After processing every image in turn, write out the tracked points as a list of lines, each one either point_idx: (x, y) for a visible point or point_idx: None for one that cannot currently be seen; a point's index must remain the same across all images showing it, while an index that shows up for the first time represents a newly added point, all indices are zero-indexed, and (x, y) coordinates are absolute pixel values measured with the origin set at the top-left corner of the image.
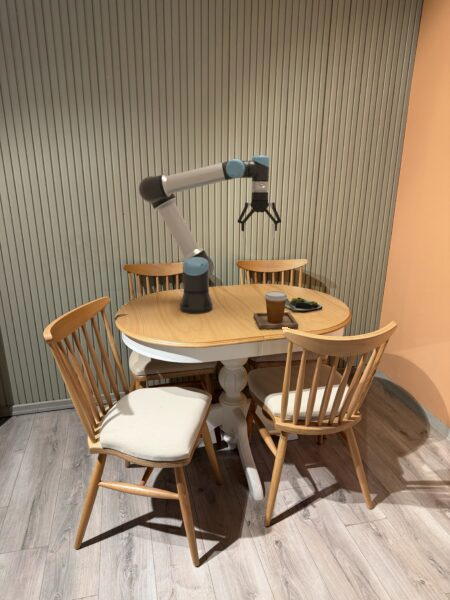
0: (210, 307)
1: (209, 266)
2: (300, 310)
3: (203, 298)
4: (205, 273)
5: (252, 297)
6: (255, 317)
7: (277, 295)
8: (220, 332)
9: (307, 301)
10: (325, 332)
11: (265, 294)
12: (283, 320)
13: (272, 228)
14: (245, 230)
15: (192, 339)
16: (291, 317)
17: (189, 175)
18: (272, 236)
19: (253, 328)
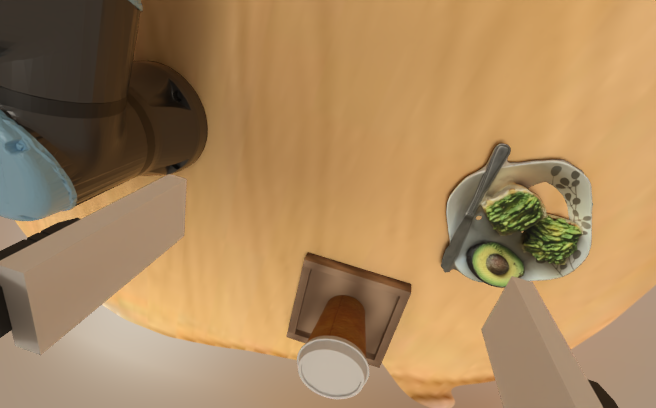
0: (191, 161)
1: (82, 102)
2: (465, 275)
3: (148, 174)
4: (81, 200)
5: (396, 30)
6: (298, 288)
7: (330, 381)
8: (204, 307)
9: (577, 192)
10: (428, 395)
11: (299, 359)
12: (368, 316)
13: (548, 395)
14: (114, 288)
15: (148, 316)
16: (390, 328)
17: None
18: (501, 315)
19: (280, 316)
